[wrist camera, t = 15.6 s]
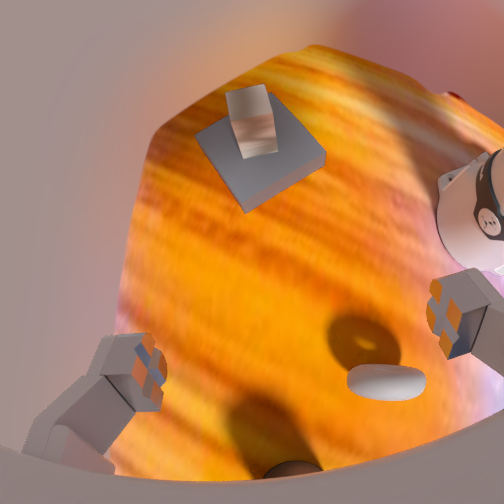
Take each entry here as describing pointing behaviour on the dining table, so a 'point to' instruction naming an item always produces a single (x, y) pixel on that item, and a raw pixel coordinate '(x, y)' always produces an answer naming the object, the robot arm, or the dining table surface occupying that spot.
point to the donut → (386, 381)
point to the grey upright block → (252, 120)
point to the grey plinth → (262, 158)
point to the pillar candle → (291, 469)
